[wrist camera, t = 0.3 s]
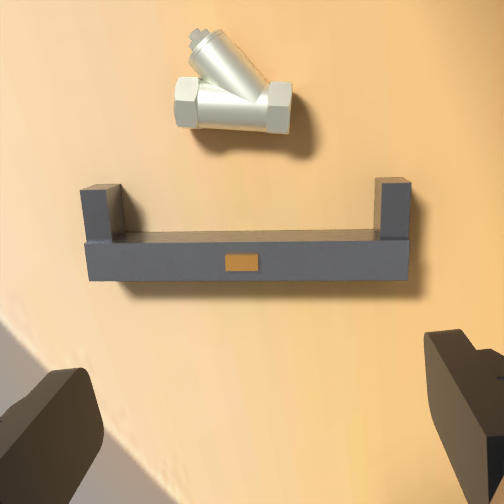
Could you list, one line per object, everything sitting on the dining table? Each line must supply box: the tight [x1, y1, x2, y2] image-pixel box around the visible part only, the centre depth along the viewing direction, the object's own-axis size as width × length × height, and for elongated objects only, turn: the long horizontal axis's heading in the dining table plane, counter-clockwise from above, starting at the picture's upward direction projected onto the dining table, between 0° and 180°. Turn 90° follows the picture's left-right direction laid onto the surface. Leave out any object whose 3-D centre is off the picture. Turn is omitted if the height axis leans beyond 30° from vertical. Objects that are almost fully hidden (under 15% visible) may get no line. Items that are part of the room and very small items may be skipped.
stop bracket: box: [80, 177, 411, 281], centre depth 36 cm, size 7×24×4 cm, turn 92°
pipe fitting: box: [174, 28, 293, 134], centre depth 34 cm, size 8×4×7 cm
